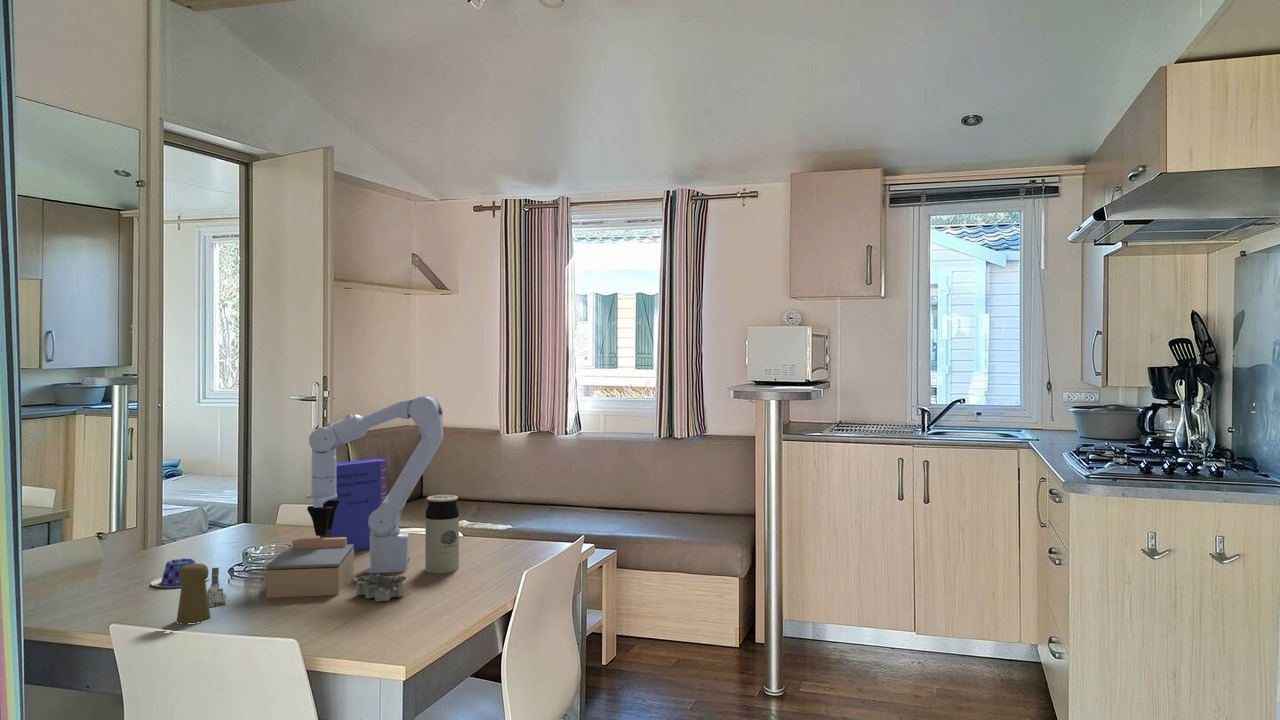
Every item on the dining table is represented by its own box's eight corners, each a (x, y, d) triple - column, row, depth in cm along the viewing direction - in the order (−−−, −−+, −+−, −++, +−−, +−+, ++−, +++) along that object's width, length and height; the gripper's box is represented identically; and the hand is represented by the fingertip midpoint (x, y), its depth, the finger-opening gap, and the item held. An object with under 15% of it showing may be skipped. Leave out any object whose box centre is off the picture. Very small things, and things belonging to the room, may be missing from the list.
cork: (184, 615, 172) (184, 561, 172) (215, 615, 172) (215, 560, 172) (170, 625, 166) (170, 568, 166) (203, 624, 166) (203, 568, 166)
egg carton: (408, 595, 185) (408, 576, 185) (378, 604, 179) (377, 585, 179) (381, 584, 192) (381, 566, 192) (351, 593, 186) (350, 574, 186)
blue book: (375, 543, 239) (375, 458, 239) (386, 546, 236) (386, 459, 236) (319, 555, 225) (320, 464, 225) (330, 557, 222) (331, 465, 222)
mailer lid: (353, 546, 207) (353, 536, 207) (338, 566, 187) (338, 554, 187) (288, 548, 204) (288, 537, 204) (266, 569, 185) (266, 557, 185)
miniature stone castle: (182, 600, 184) (182, 564, 184) (227, 596, 187) (227, 561, 187) (178, 612, 176) (178, 574, 176) (225, 607, 179) (225, 570, 179)
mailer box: (353, 572, 207) (353, 548, 207) (338, 595, 187) (338, 568, 187) (288, 575, 204) (288, 550, 204) (266, 598, 185) (266, 570, 185)
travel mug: (422, 568, 211) (422, 495, 211) (454, 565, 215) (455, 493, 215) (428, 576, 204) (429, 500, 204) (462, 572, 207) (462, 498, 207)
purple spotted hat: (142, 583, 197) (143, 561, 197) (197, 574, 206) (198, 552, 206) (161, 593, 189) (161, 569, 189) (217, 583, 198) (218, 560, 198)
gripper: (313, 473, 215) (313, 527, 215) (300, 481, 201) (299, 539, 201) (342, 472, 216) (342, 526, 216) (331, 480, 202) (331, 538, 202)
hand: (323, 532), depth 209 cm, fingers open, 7 cm apart
